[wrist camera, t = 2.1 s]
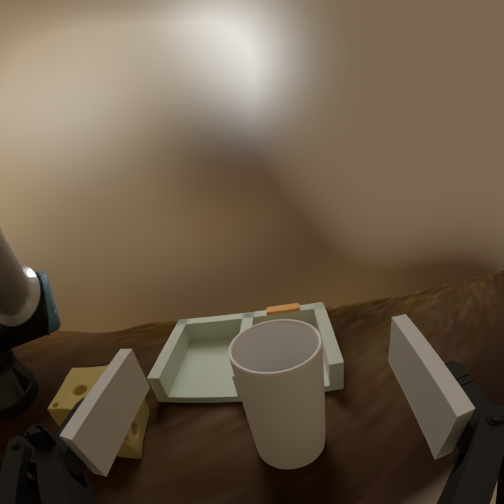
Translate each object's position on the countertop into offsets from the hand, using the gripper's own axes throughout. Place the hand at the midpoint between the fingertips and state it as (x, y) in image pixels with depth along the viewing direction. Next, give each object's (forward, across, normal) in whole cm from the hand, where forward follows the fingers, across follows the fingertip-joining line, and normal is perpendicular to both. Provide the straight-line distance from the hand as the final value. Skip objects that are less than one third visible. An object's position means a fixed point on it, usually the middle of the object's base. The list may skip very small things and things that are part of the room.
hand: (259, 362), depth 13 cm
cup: (+10, 0, -22) cm, 24 cm away
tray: (+27, -6, -22) cm, 35 cm away
